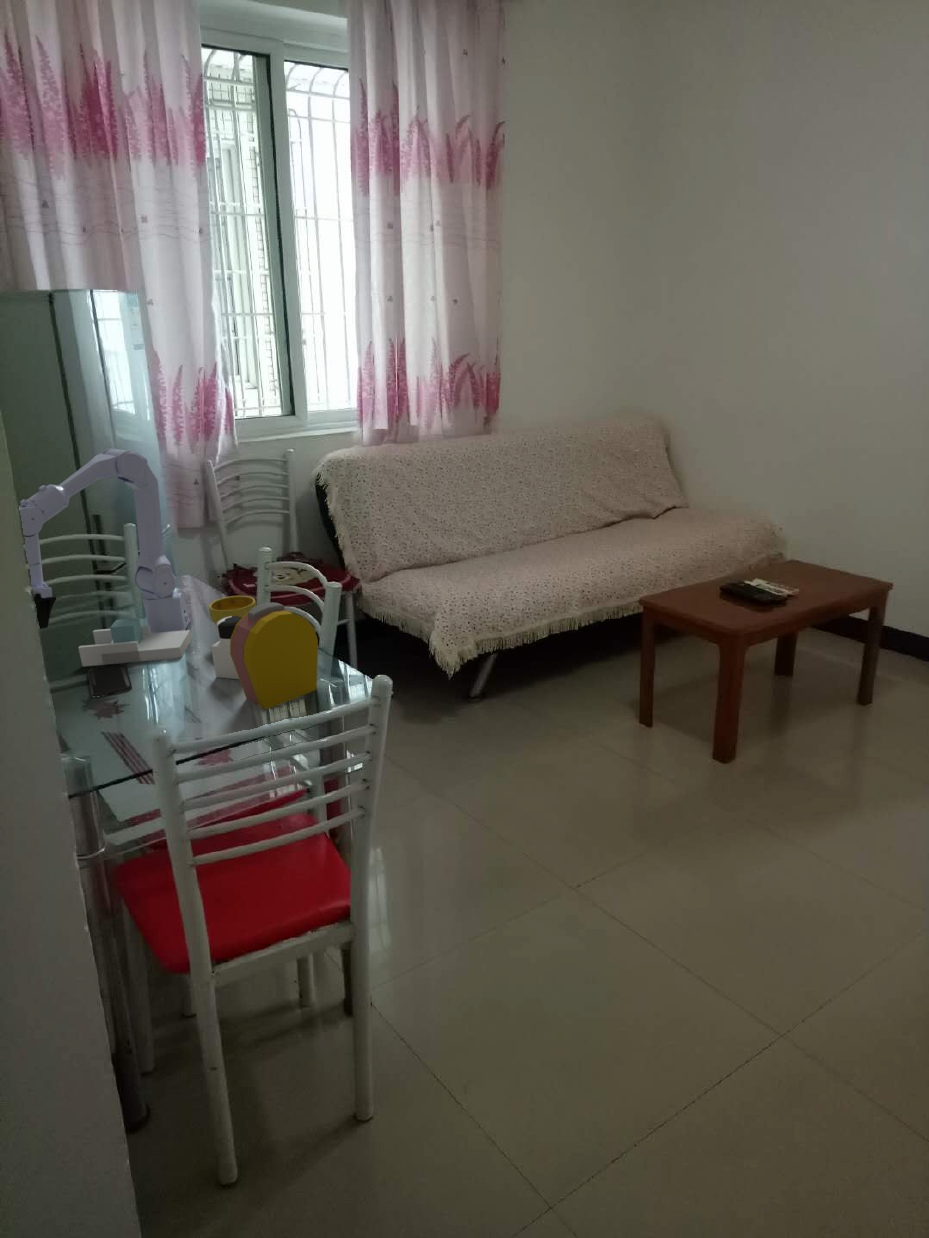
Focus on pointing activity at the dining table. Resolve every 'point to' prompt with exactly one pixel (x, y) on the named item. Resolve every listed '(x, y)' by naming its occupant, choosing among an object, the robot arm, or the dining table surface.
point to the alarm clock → (274, 655)
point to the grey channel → (135, 647)
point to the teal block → (126, 630)
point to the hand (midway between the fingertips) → (32, 625)
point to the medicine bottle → (224, 648)
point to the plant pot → (230, 607)
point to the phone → (109, 680)
